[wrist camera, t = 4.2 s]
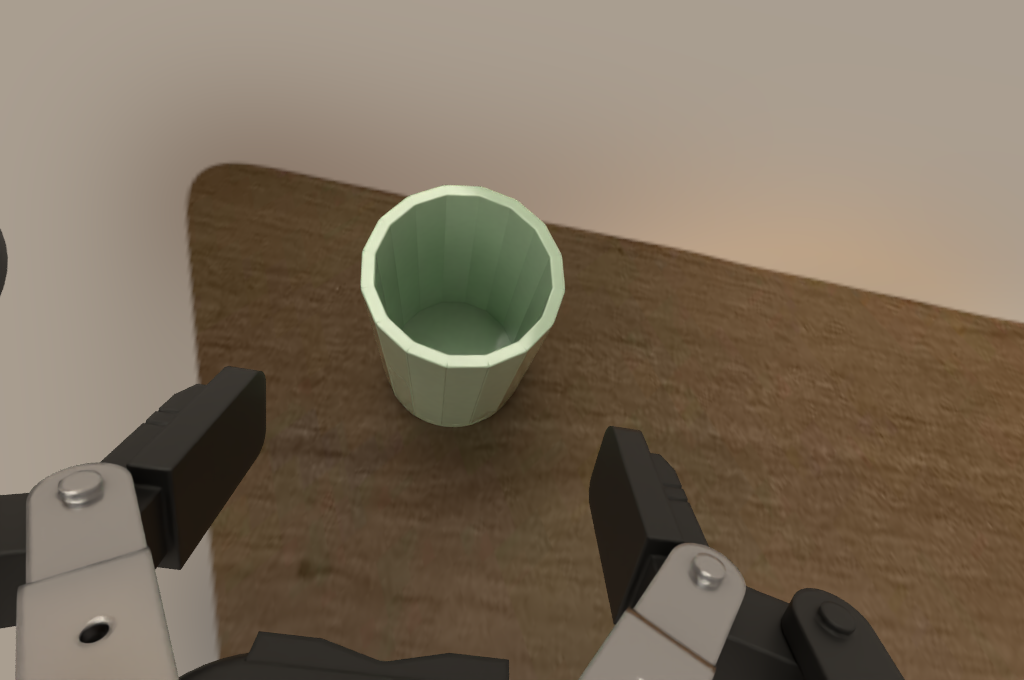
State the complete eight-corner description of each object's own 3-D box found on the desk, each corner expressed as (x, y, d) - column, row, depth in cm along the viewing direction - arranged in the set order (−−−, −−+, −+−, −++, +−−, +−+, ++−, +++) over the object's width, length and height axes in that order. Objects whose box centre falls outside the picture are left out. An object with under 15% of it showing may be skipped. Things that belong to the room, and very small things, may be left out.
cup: (384, 429, 23) (356, 369, 15) (387, 299, 25) (365, 181, 17) (523, 425, 24) (572, 366, 15) (515, 300, 26) (555, 188, 17)
